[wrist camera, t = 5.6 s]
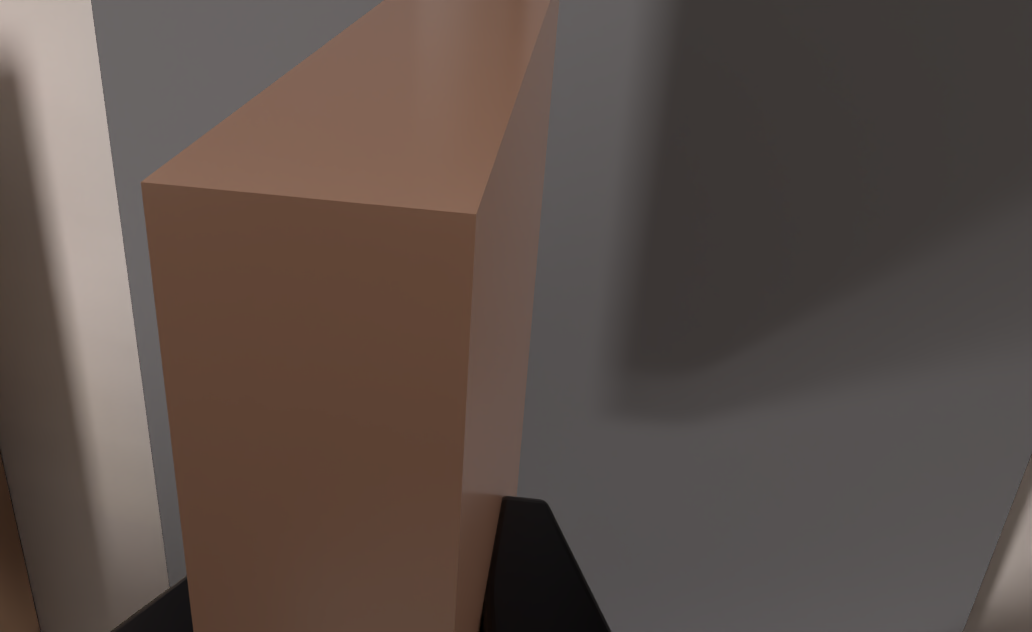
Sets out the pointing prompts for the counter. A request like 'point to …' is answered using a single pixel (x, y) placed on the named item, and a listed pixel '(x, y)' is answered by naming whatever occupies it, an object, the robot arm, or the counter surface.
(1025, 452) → the mat
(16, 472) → the counter surface
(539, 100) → the tile
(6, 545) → the stand
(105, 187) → the counter surface
